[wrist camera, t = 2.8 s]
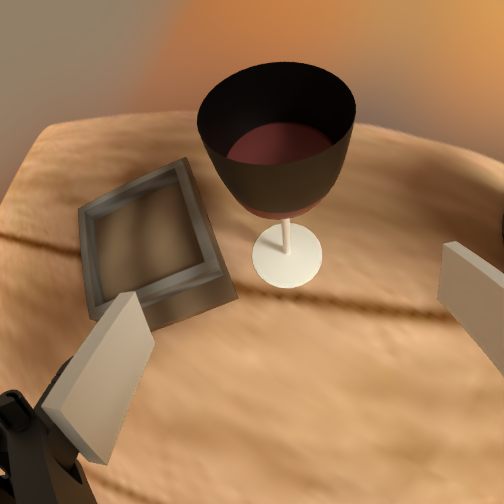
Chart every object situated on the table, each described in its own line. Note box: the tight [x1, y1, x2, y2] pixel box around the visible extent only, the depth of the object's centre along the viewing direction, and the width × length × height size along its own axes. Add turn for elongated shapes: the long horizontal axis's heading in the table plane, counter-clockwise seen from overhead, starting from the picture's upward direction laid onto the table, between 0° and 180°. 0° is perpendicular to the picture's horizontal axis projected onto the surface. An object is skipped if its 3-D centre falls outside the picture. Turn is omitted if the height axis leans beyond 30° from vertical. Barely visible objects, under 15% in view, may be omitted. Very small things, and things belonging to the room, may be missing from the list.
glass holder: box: [78, 157, 238, 332], centre depth 33 cm, size 16×20×4 cm
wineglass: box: [197, 62, 356, 288], centre depth 23 cm, size 8×9×20 cm
